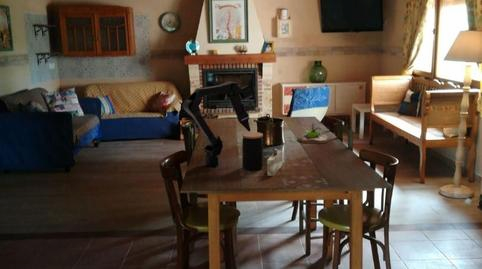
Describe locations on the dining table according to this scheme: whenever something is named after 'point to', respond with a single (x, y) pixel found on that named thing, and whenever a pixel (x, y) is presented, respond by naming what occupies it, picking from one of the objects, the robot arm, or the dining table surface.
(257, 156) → the coffee jar
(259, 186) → the dining table surface
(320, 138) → the plant
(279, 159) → the bench stop
